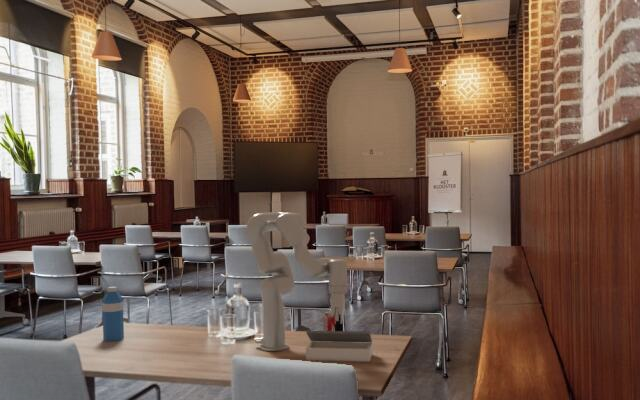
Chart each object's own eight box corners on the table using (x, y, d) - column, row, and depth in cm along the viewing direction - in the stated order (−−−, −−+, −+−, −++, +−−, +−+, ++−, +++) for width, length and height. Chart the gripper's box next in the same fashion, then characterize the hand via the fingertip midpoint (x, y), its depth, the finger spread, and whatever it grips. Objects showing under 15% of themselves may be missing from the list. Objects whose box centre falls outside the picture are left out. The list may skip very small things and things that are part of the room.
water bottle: (103, 337, 305) (102, 286, 304) (123, 336, 308) (122, 285, 307) (103, 342, 296) (101, 289, 296) (123, 340, 299) (122, 288, 298)
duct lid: (306, 333, 258) (306, 330, 258) (311, 341, 267) (311, 339, 268) (369, 334, 253) (369, 331, 254) (372, 342, 263) (372, 340, 263)
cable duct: (306, 360, 256) (306, 348, 256) (311, 353, 267) (311, 341, 267) (369, 361, 252) (369, 349, 252) (372, 354, 263) (372, 342, 263)
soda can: (337, 339, 291) (336, 313, 291) (322, 338, 293) (321, 313, 293) (339, 335, 298) (339, 310, 298) (325, 335, 300) (324, 310, 300)
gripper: (331, 286, 267) (332, 329, 268) (326, 292, 253) (327, 337, 253) (349, 286, 266) (350, 329, 266) (345, 292, 251) (345, 337, 252)
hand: (338, 333), depth 260 cm, fingers closed
